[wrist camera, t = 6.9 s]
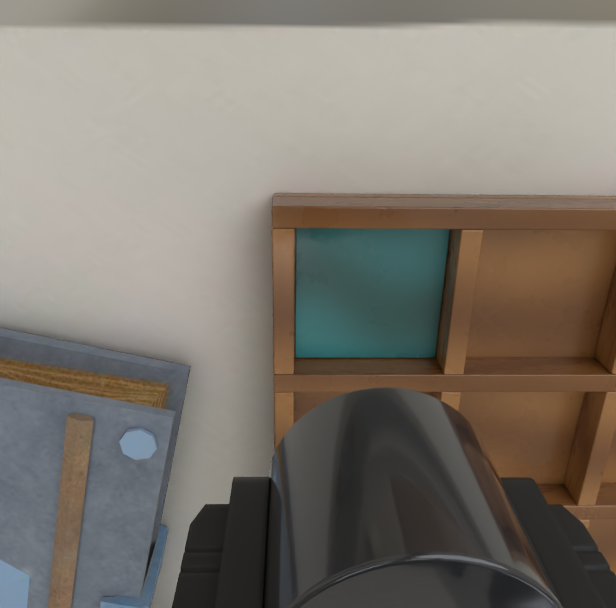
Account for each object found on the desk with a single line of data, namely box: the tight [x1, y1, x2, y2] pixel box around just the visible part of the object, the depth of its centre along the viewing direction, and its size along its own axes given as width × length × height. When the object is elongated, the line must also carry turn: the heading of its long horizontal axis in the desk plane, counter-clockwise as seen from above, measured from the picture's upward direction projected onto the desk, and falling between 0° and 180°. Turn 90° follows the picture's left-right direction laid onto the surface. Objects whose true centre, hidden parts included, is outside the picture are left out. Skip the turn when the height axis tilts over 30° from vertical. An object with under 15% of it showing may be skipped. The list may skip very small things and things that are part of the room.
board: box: [272, 193, 616, 575], centre depth 25 cm, size 21×21×2 cm
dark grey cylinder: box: [263, 387, 564, 608], centre depth 10 cm, size 4×4×4 cm
